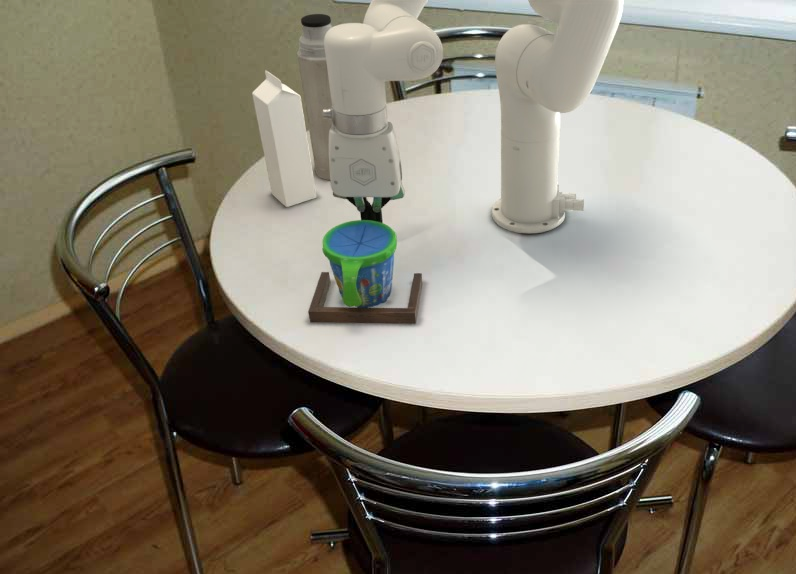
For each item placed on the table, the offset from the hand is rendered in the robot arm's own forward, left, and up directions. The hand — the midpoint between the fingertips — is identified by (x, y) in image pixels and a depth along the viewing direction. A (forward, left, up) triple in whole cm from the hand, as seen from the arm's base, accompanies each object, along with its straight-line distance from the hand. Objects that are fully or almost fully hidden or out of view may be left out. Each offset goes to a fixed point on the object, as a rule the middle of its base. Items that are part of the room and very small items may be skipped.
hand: (372, 230), depth 130 cm
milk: (+18, -21, -6) cm, 28 cm away
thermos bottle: (+12, -31, -6) cm, 34 cm away
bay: (0, +11, -6) cm, 13 cm away
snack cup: (0, +9, -6) cm, 11 cm away
